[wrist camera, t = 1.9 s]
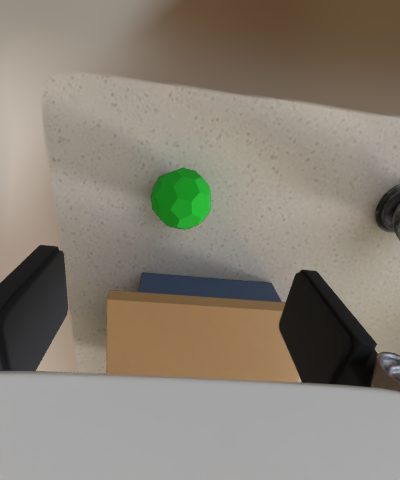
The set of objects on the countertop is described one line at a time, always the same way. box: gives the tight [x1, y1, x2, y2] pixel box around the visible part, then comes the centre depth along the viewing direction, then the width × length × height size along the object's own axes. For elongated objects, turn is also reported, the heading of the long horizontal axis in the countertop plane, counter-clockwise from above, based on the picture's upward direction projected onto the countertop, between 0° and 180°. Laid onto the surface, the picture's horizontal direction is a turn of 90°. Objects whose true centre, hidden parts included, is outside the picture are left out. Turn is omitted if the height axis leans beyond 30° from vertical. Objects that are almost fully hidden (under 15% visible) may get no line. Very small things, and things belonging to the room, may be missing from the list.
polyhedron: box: [151, 168, 211, 229], centre depth 23 cm, size 5×5×5 cm
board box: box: [107, 273, 299, 382], centre depth 28 cm, size 18×16×7 cm
